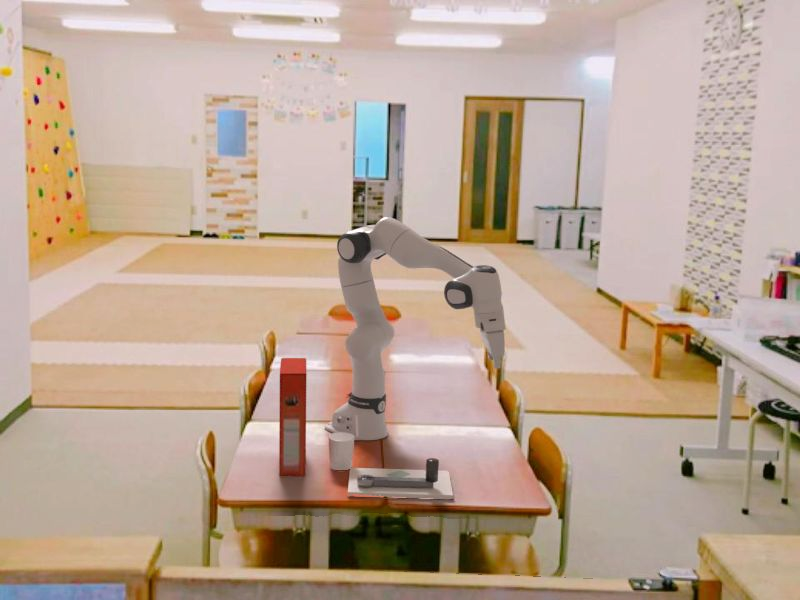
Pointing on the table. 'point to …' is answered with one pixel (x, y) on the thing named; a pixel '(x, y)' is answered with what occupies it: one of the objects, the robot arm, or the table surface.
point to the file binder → (292, 417)
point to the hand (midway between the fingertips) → (494, 363)
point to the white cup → (341, 450)
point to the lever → (430, 478)
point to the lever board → (438, 491)
